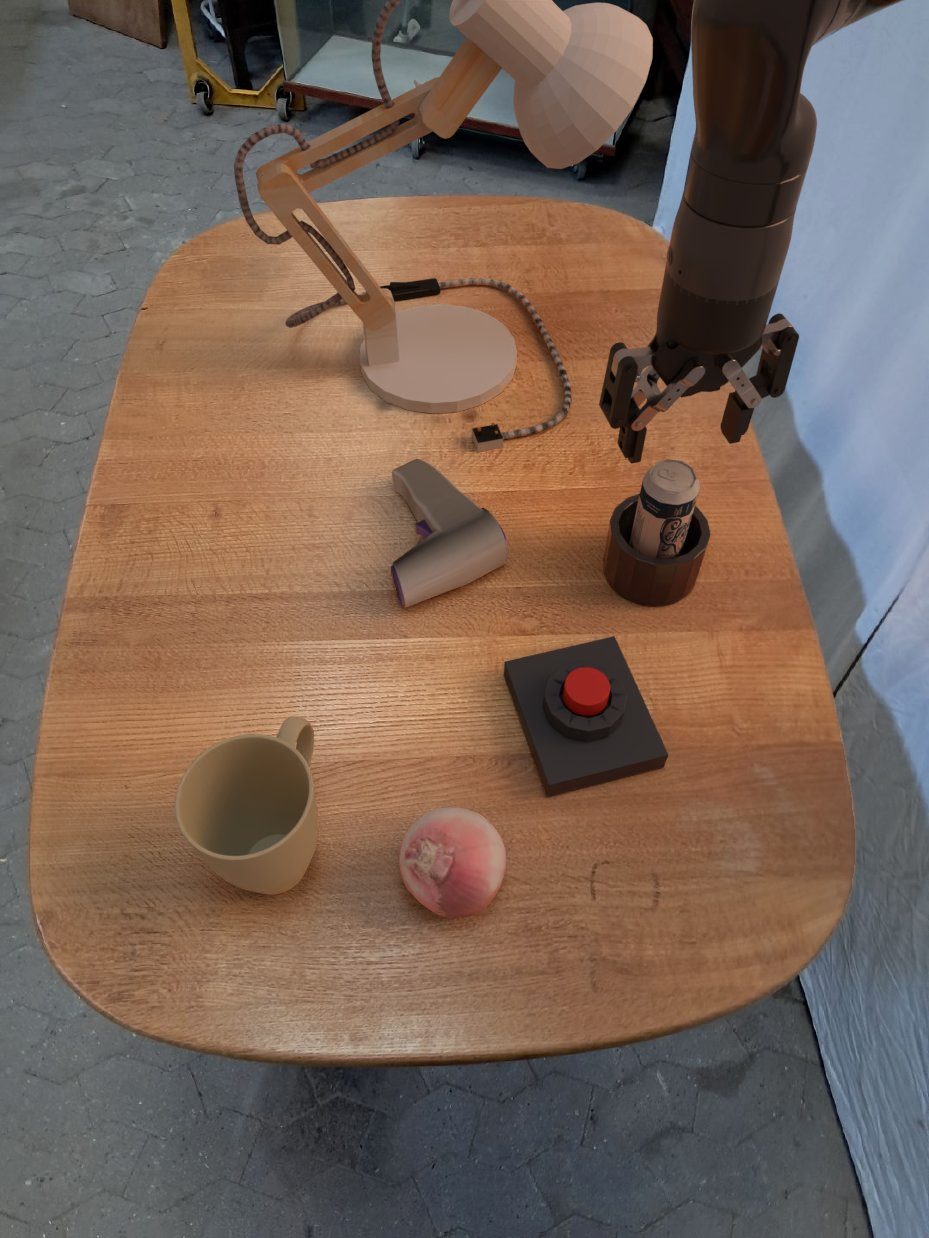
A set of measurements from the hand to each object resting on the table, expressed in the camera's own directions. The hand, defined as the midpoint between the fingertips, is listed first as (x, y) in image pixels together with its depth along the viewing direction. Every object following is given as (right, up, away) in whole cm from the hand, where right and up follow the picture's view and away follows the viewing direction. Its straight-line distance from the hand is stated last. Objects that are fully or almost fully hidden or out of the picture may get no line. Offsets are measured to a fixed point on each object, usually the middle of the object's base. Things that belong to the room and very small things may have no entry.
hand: (680, 446), depth 73 cm
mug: (-32, -32, -4) cm, 45 cm away
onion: (-18, -33, -5) cm, 38 cm away
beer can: (0, -9, +12) cm, 15 cm away
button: (-8, -20, 0) cm, 22 cm away
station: (-8, -22, +3) cm, 24 cm away
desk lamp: (-20, +15, +31) cm, 40 cm away
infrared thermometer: (-22, -7, +15) cm, 27 cm away
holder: (0, -9, +12) cm, 16 cm away
